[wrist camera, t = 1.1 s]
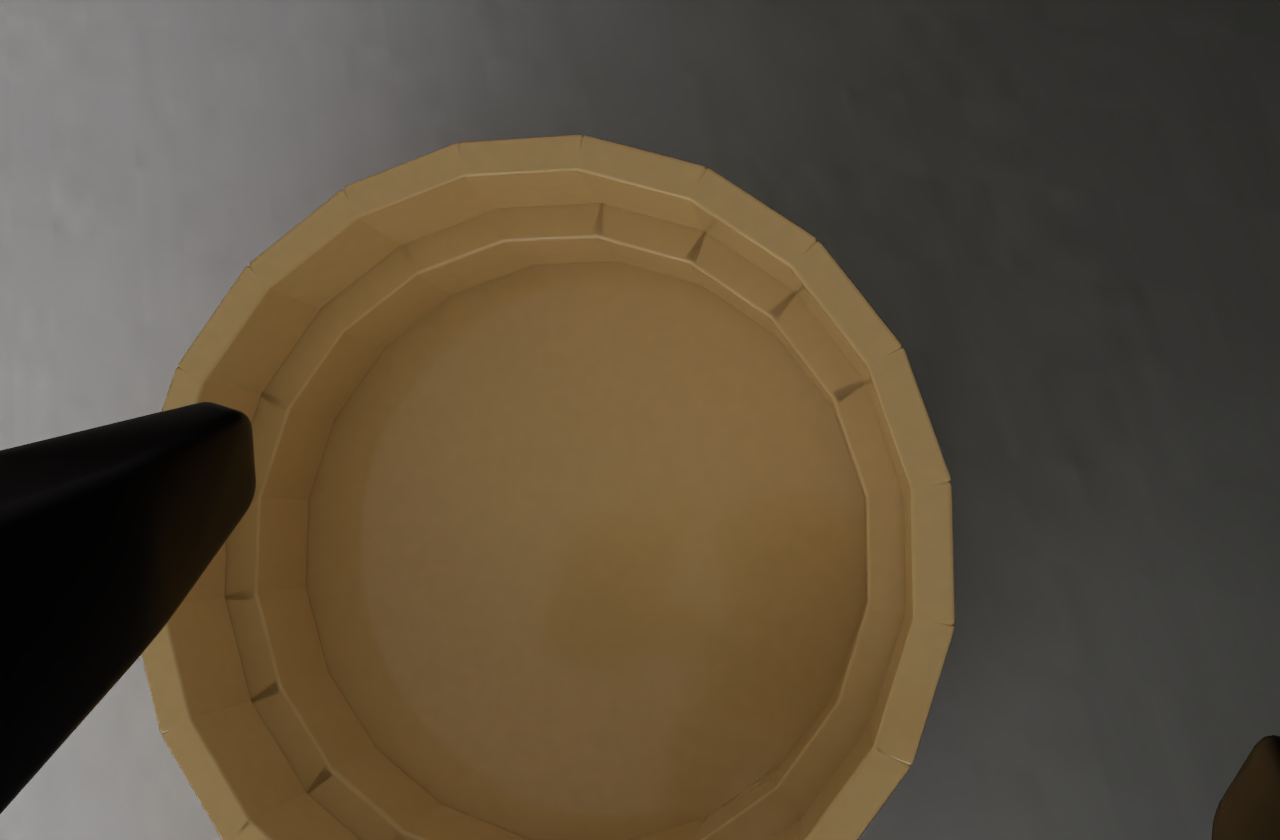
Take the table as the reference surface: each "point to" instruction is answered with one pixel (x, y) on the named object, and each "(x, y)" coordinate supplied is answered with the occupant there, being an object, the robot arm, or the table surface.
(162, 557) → the robot arm
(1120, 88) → the table surface
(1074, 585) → the table surface
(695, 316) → the bowl
